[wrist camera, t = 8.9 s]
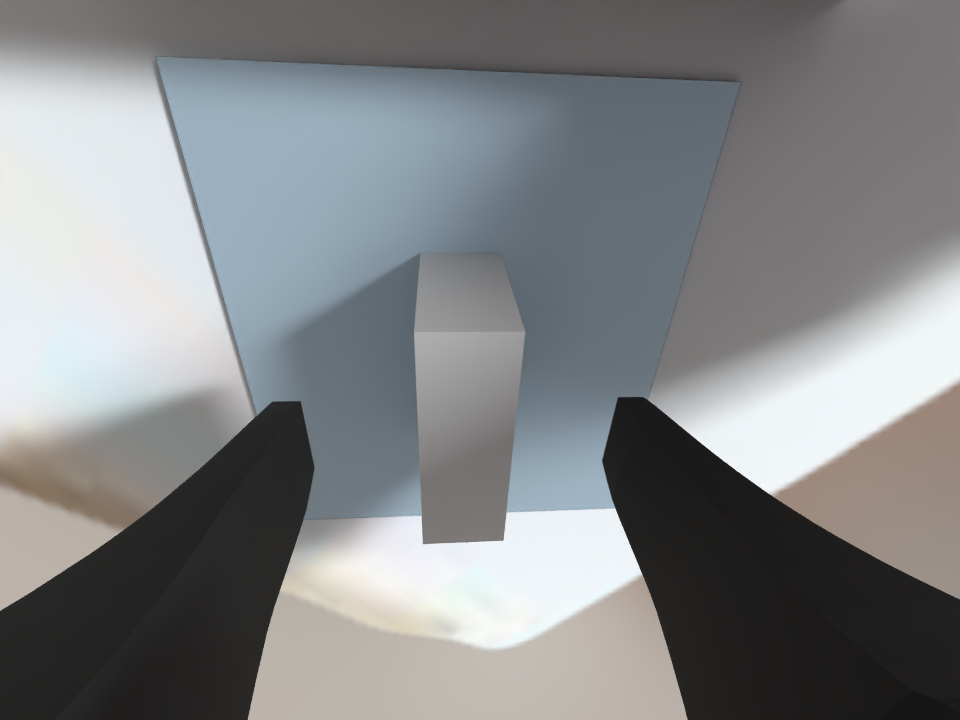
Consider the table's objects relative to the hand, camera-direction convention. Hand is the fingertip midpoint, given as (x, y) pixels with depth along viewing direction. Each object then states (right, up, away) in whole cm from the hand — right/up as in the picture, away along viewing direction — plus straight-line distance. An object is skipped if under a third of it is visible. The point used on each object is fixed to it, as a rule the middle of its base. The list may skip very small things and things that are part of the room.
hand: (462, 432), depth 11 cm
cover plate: (0, +2, +3) cm, 4 cm away
